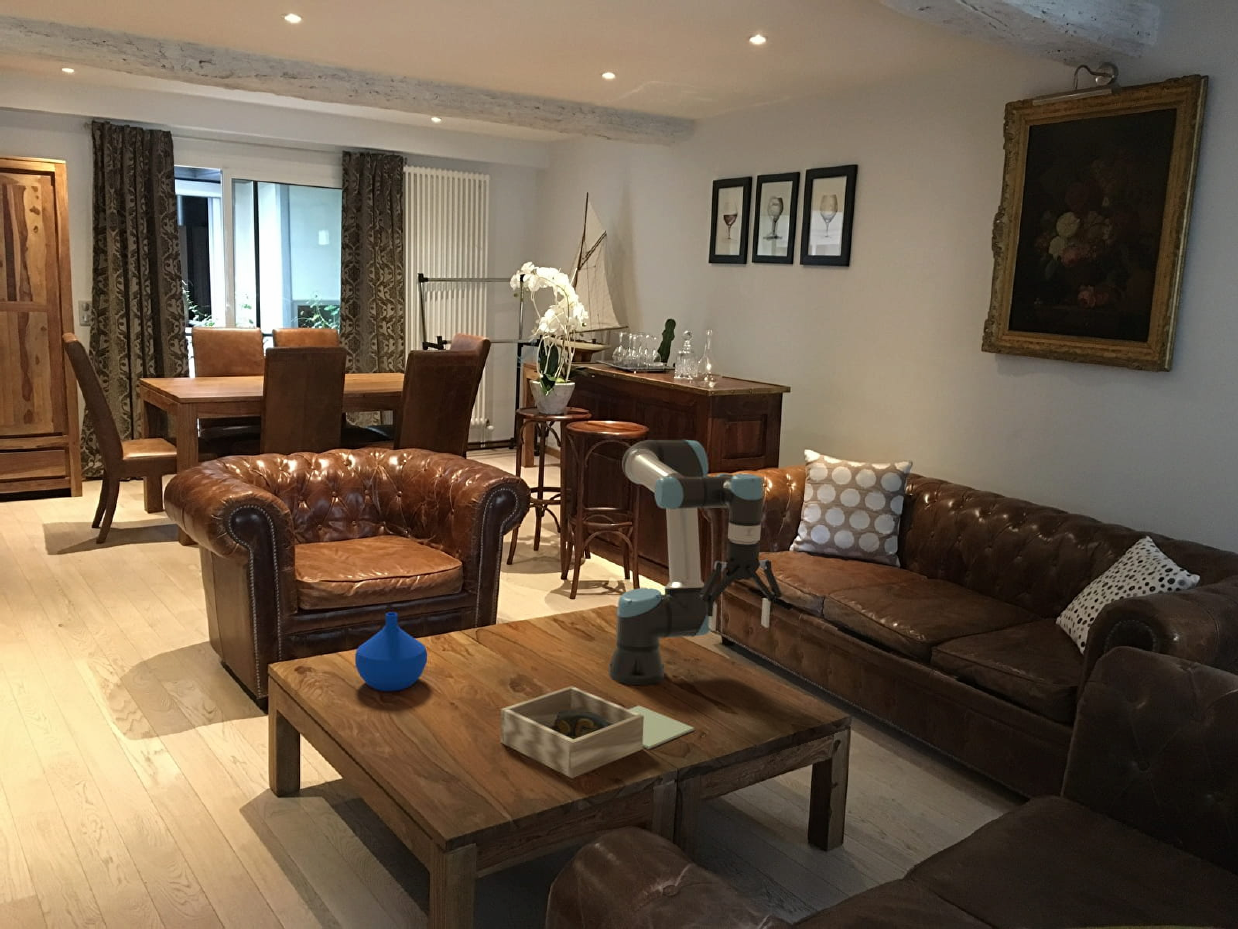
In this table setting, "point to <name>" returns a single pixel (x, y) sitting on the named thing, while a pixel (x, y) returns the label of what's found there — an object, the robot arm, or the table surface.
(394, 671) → the vase
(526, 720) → the frame
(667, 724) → the pad
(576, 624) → the table surface
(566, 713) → the sculpture
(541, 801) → the table surface
